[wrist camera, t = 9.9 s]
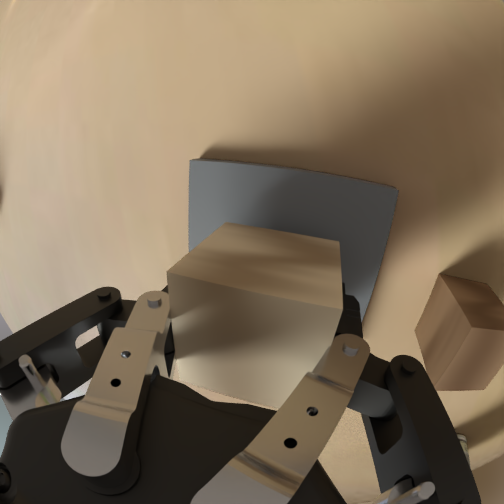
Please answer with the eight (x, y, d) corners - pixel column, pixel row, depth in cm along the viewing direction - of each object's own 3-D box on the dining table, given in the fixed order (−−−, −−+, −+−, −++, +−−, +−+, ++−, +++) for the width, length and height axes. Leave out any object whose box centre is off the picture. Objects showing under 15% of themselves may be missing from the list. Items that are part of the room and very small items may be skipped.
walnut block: (486, 283, 12) (523, 332, 7) (461, 335, 13) (484, 389, 9) (438, 273, 12) (471, 327, 8) (414, 329, 14) (431, 390, 10)
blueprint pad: (393, 186, 12) (398, 190, 11) (347, 346, 16) (347, 357, 15) (198, 158, 14) (189, 159, 13) (198, 313, 18) (191, 322, 17)
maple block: (339, 241, 11) (342, 309, 7) (316, 333, 13) (303, 413, 9) (225, 221, 12) (166, 271, 8) (222, 312, 14) (179, 380, 10)
